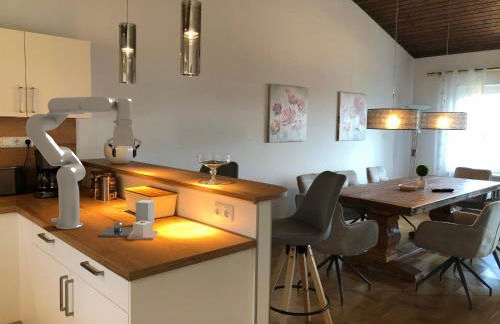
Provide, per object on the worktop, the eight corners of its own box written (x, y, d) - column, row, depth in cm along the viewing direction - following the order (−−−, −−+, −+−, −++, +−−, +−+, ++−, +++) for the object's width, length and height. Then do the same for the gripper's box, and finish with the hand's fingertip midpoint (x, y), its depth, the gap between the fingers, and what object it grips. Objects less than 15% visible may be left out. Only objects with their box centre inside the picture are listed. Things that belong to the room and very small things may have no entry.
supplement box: (154, 223, 223) (155, 200, 222) (147, 226, 216) (147, 202, 215) (142, 222, 225) (142, 199, 224) (135, 225, 218) (135, 201, 217)
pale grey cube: (132, 234, 198) (132, 221, 197) (142, 231, 203) (142, 219, 203) (143, 236, 195) (143, 223, 194) (152, 233, 200) (152, 221, 200)
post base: (98, 236, 196) (98, 226, 195) (107, 229, 210) (107, 219, 209) (129, 237, 197) (129, 226, 196) (135, 229, 211) (135, 219, 210)
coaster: (127, 239, 193) (127, 237, 193) (132, 232, 205) (132, 230, 205) (153, 239, 194) (153, 237, 194) (157, 232, 206) (157, 230, 205)
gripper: (104, 122, 203) (104, 157, 205) (140, 123, 204) (140, 158, 206) (108, 122, 210) (108, 156, 212) (143, 123, 211) (143, 157, 213)
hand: (124, 157), depth 209 cm, fingers open, 9 cm apart
